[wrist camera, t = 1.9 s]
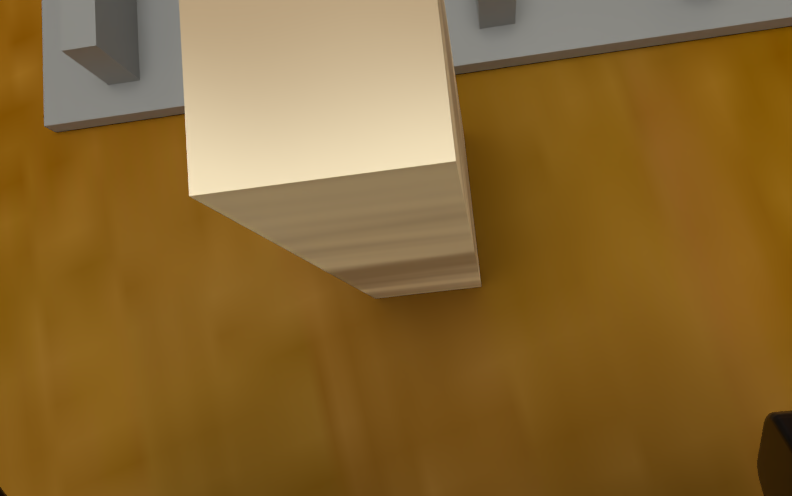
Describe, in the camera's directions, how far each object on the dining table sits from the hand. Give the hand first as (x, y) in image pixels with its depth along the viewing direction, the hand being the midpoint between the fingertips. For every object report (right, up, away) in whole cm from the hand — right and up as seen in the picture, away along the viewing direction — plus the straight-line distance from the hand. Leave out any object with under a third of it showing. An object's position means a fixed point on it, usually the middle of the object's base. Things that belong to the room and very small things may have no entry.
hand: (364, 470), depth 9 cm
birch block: (+1, +4, +13) cm, 13 cm away
